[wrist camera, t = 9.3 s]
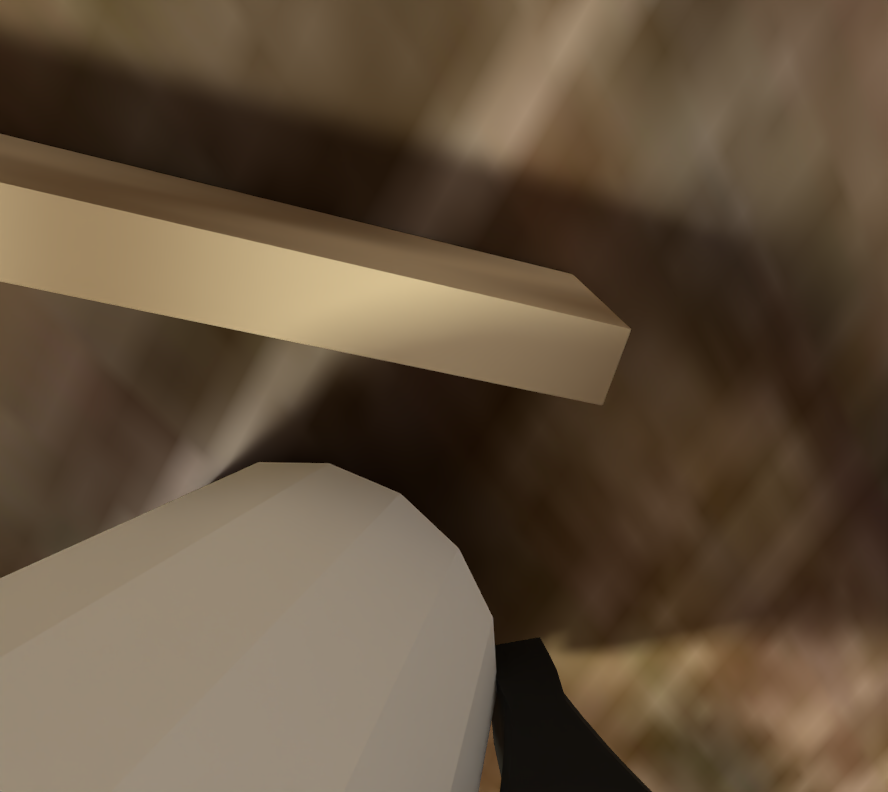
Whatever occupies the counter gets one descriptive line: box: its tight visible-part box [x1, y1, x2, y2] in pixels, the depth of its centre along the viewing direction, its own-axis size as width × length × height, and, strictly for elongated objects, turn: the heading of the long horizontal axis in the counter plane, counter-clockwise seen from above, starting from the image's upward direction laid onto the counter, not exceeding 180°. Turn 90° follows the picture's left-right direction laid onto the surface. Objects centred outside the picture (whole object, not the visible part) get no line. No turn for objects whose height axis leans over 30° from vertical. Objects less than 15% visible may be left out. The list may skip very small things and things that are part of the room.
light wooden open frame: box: [0, 134, 631, 406], centre depth 9 cm, size 12×24×3 cm, turn 165°
